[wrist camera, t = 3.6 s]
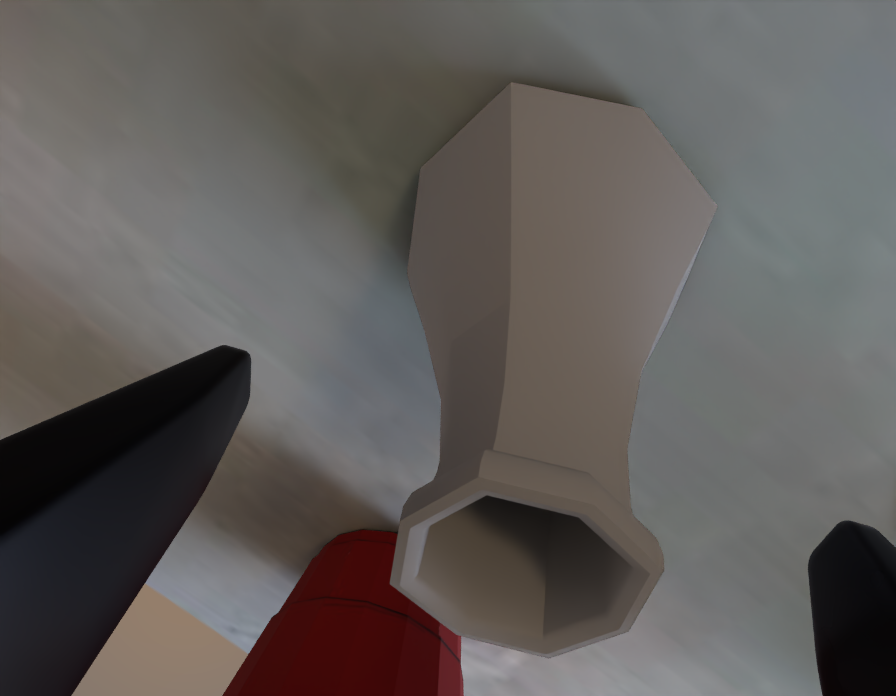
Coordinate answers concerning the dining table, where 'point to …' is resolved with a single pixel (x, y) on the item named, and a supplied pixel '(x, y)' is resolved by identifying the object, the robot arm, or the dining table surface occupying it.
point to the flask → (542, 364)
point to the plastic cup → (351, 633)
